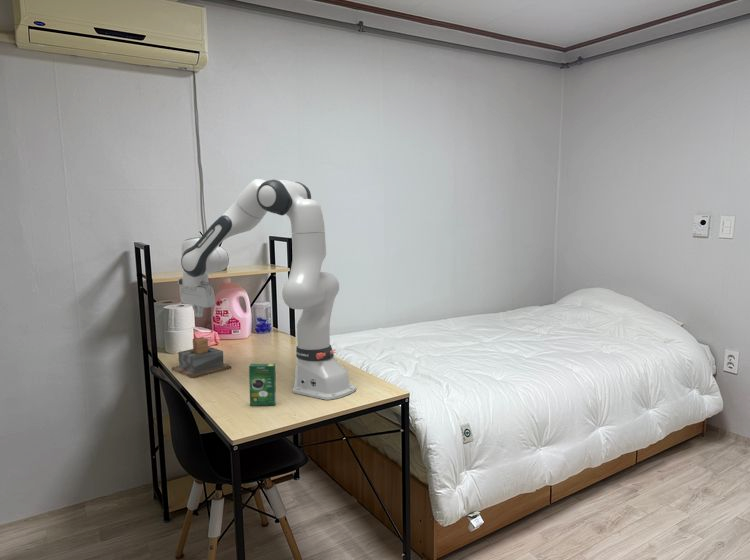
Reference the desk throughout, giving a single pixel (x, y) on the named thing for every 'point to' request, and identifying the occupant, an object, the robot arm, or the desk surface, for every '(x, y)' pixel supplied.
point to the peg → (200, 345)
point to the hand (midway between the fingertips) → (198, 316)
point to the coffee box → (262, 384)
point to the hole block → (200, 363)
